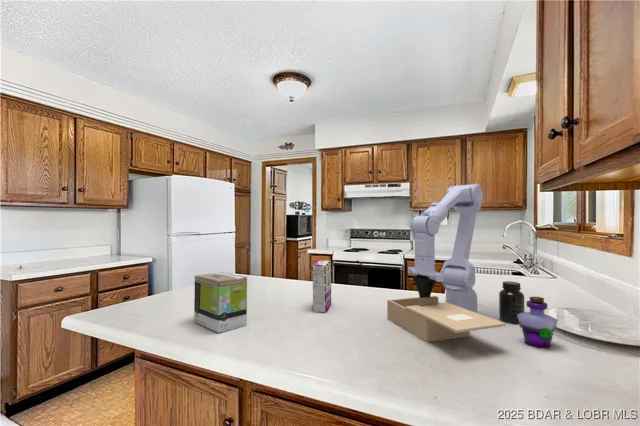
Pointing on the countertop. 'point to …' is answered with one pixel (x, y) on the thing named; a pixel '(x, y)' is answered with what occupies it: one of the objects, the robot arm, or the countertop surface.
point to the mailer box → (418, 321)
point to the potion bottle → (537, 324)
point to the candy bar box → (321, 286)
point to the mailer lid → (452, 315)
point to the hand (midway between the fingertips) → (424, 301)
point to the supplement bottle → (510, 302)
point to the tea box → (220, 301)
